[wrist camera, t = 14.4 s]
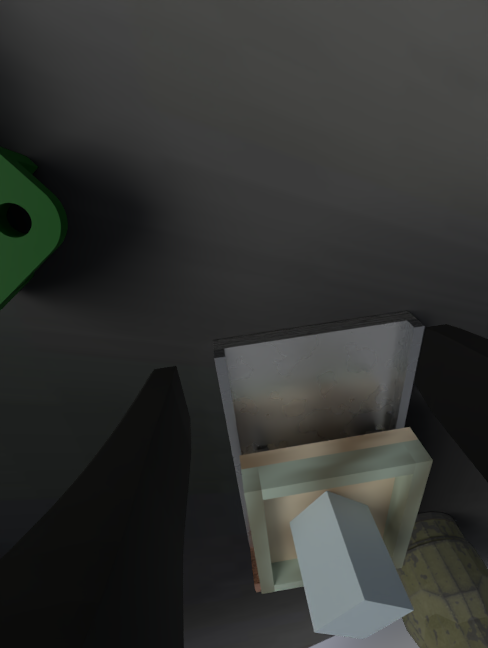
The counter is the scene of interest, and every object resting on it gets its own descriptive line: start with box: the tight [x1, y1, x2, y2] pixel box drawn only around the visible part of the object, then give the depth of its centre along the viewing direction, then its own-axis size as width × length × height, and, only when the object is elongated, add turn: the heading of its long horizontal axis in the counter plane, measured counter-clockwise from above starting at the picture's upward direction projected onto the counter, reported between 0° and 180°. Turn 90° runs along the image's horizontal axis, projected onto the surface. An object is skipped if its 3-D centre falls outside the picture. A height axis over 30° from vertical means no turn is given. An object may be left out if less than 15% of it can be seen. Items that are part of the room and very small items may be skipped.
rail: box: [213, 311, 425, 592], centre depth 24 cm, size 12×22×4 cm, turn 6°
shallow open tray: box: [239, 427, 433, 594], centre depth 24 cm, size 11×13×4 cm
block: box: [289, 491, 414, 639], centre depth 21 cm, size 4×4×6 cm
